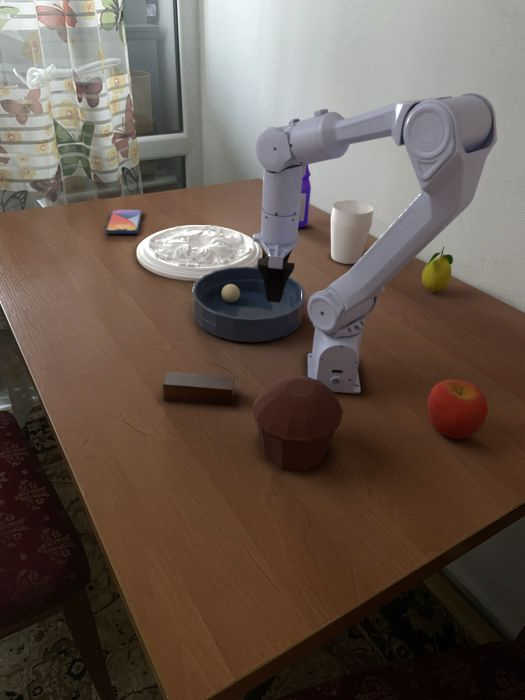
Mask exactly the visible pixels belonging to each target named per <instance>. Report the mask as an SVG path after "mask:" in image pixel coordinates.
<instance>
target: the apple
mask: <svg viewBox="0 0 525 700" xmlns="http://www.w3.org/2000/svg"><path fill="white" fill-rule="evenodd" d="M427 411H428V412H427V413H428V419H429V423H430V424H431V427H432V428H433V429H434V430H435V431H436V432H437V433H439V435H442V436H443V437H446V438H448V439H456V440H460V439H461V440H462V439H466V438H469V437H471V436H472V435H474V434H477V432H479V430H480V429H481V428H482V426H483V425H484V424H485V422H486V419H487V417H488V413H489V406H488V402H487V399H486V396H485V395H484V393H483V392H482V391H481V390H480V389H479V387H478V386H476V385H474V384H473V383H471V382H469V381H466V380H463V379H445V380H442V381H440V382H438V383H436V384H435V385H434V386H433V388H432V389H431V390H430V392H429V395H428V397H427Z"/></svg>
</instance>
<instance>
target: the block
mask: <svg viewBox="0 0 525 700" xmlns="http://www.w3.org/2000/svg"><path fill="white" fill-rule="evenodd" d="M162 383H163V384H162V390H163V401H165V402H167V401H168V402H176V403H177V402H178V403H190V404H191V403H192V404H201V405H202V404H204V405H215V406H216V405H217V406H229V407H232V406H233V405H234V399H235V391H236V389H235V387H236V377H234V376H223V375H209V374H196V373H185V372H183V373H182V372H174V371H173V372H171V371H167V372H166V374H165V378H164V380H163V382H162Z"/></svg>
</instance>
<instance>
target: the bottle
mask: <svg viewBox="0 0 525 700" xmlns="http://www.w3.org/2000/svg"><path fill="white" fill-rule="evenodd" d="M310 177H311V172H310V169H309V164H307V166H306V171H305V175H304V176H303V178H302V188H301V199H300V210H299V222H298V229H300V228H301V229H302V228H305V227H306V226H307V225H308V222H309V211H310V202H311V190H312V186H311V185H312V184H311V181H310Z"/></svg>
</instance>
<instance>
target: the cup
mask: <svg viewBox="0 0 525 700" xmlns="http://www.w3.org/2000/svg"><path fill="white" fill-rule="evenodd" d="M373 216H374V207H373V206H372V205H371V204H368V203H365V202H363V201H358V200H350V199H349V200H347V199H346V200H338V201H335V202H334V203H333V205H332V210H331V215H330V257H331V259H332V260H333V261H335V262H337V263H340V264H345V265H353V264H354V265H355V264H356V263H357V262H358V261H359V259H360V258H361V257H362V256H363V252H364V250H365V246H366V244H367V240H368V237H369V234H370V232H371V231H370V230H371V227H372V224H373Z"/></svg>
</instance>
